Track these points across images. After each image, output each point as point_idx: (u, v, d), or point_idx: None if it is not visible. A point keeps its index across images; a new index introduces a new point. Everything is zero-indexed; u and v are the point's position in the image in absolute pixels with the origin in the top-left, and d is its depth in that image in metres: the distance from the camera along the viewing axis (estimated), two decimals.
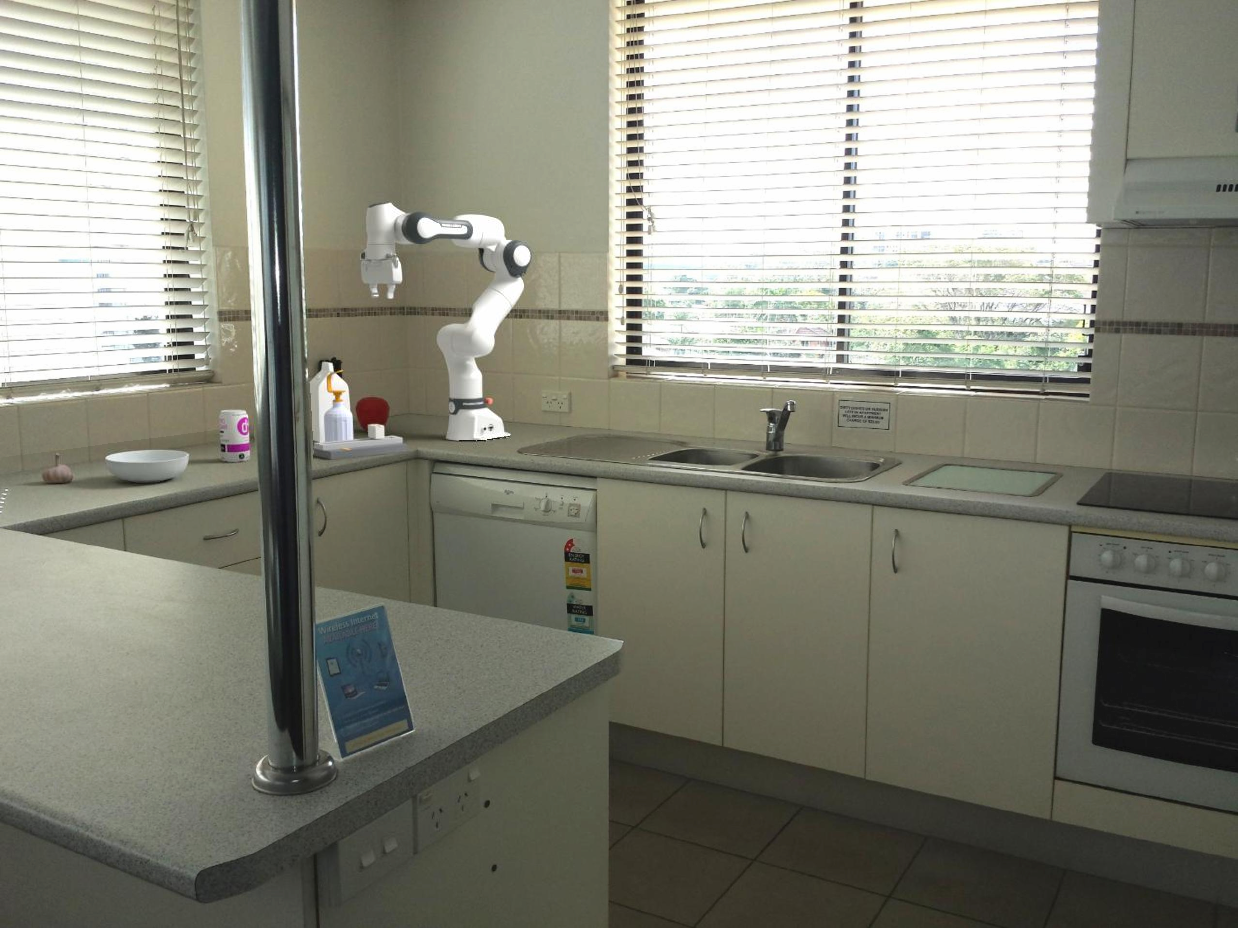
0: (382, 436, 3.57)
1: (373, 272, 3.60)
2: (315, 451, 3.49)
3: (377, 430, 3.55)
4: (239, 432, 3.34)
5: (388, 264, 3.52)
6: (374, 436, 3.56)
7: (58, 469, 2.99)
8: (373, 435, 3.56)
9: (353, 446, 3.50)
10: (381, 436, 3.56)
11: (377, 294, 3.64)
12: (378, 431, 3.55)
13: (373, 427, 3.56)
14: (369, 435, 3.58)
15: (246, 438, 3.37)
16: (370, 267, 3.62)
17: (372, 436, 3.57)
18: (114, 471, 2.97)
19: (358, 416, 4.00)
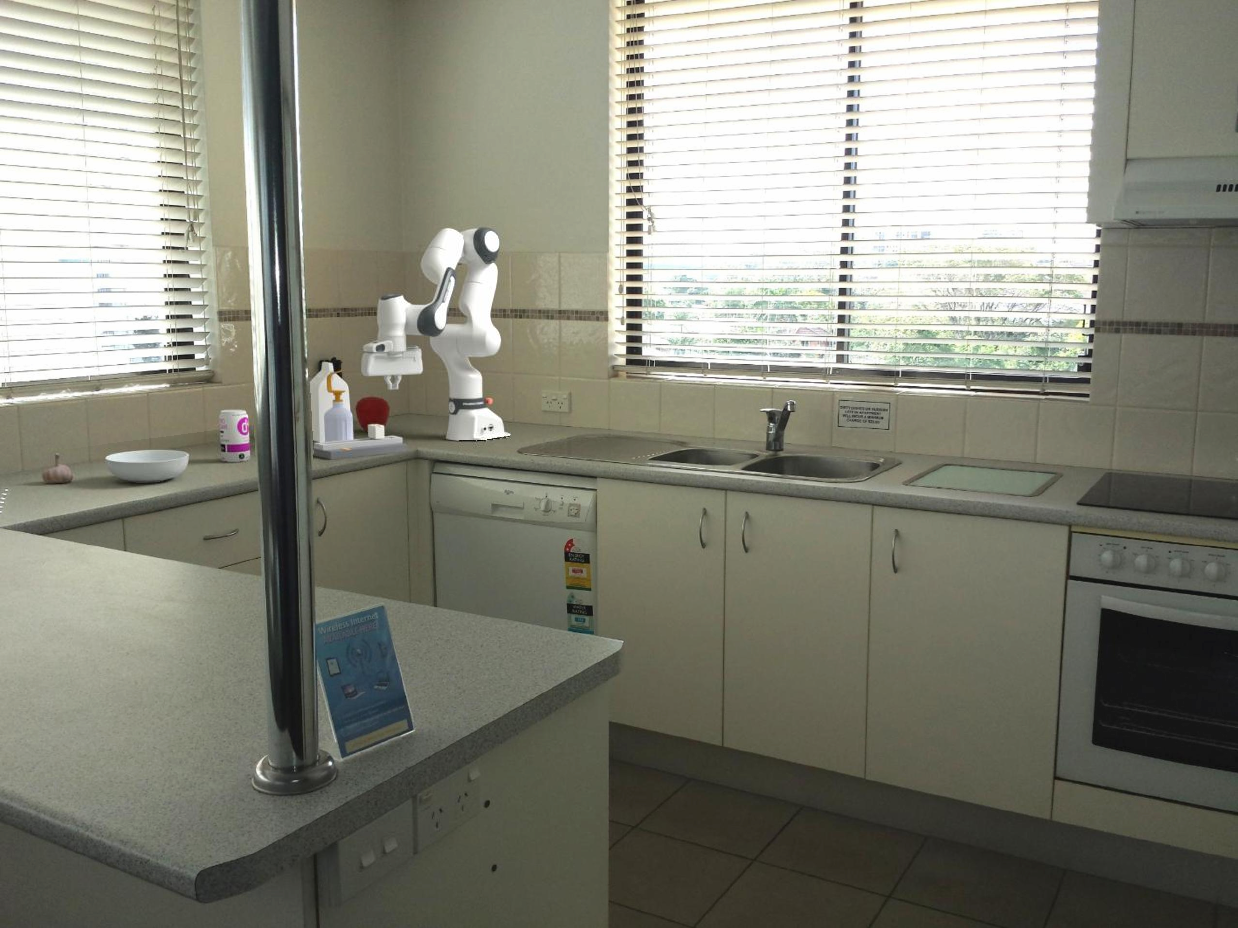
0: (382, 436, 3.57)
1: (390, 364, 3.56)
2: (315, 451, 3.49)
3: (377, 430, 3.55)
4: (239, 432, 3.34)
5: (416, 356, 3.62)
6: (374, 436, 3.56)
7: (58, 469, 2.99)
8: (373, 435, 3.56)
9: (353, 446, 3.50)
10: (381, 436, 3.56)
11: None
12: (378, 431, 3.55)
13: (373, 427, 3.56)
14: (369, 435, 3.58)
15: (246, 438, 3.37)
16: (381, 359, 3.54)
17: (372, 436, 3.57)
18: (114, 471, 2.97)
19: (358, 416, 4.00)
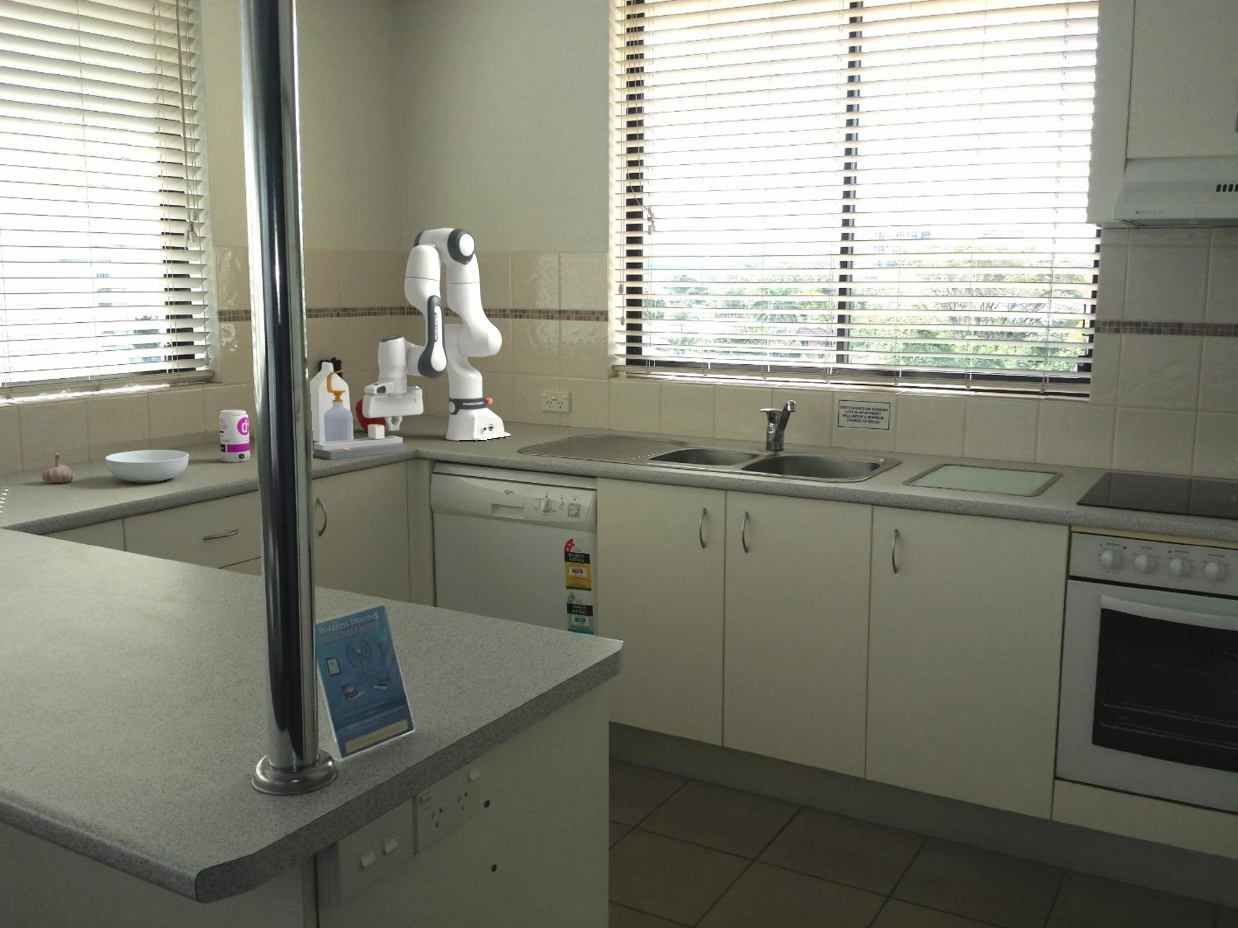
0: (382, 436, 3.57)
1: (390, 405, 3.58)
2: (315, 451, 3.49)
3: (377, 430, 3.55)
4: (239, 432, 3.34)
5: (417, 396, 3.64)
6: (374, 436, 3.56)
7: (58, 469, 2.99)
8: (373, 435, 3.56)
9: (353, 446, 3.50)
10: (381, 436, 3.56)
11: None
12: (378, 431, 3.55)
13: (373, 427, 3.56)
14: (369, 435, 3.58)
15: (246, 438, 3.37)
16: (382, 401, 3.56)
17: (372, 436, 3.57)
18: (114, 471, 2.97)
19: (358, 416, 4.00)
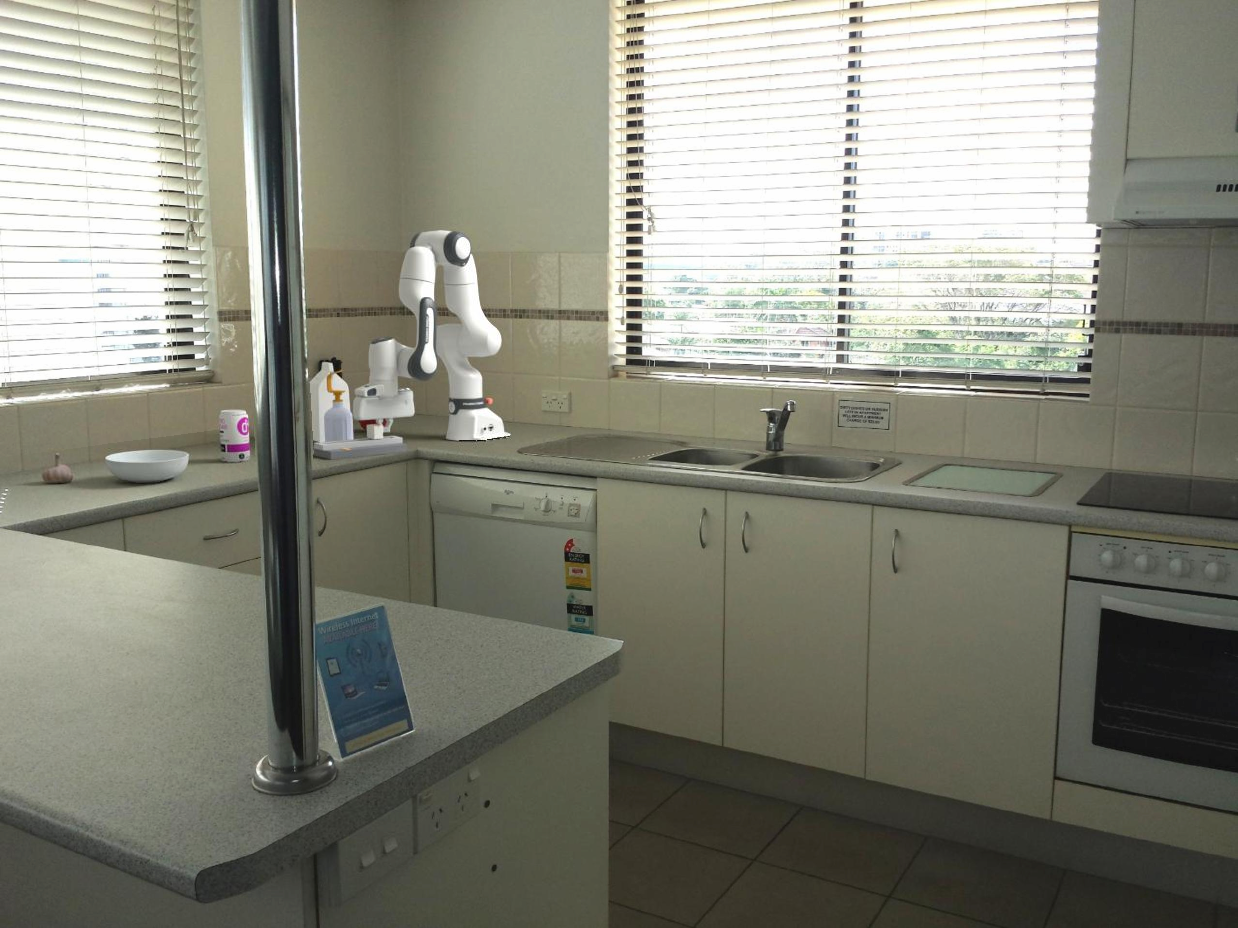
0: (381, 436, 3.56)
1: (381, 407, 3.56)
2: (315, 451, 3.49)
3: (376, 431, 3.55)
4: (239, 432, 3.34)
5: (408, 398, 3.62)
6: (373, 436, 3.55)
7: (58, 469, 2.99)
8: (371, 435, 3.56)
9: (353, 446, 3.50)
10: (380, 436, 3.56)
11: None
12: (376, 431, 3.55)
13: (372, 427, 3.55)
14: (368, 435, 3.58)
15: (246, 438, 3.37)
16: (373, 403, 3.54)
17: (371, 436, 3.57)
18: (114, 471, 2.97)
19: None
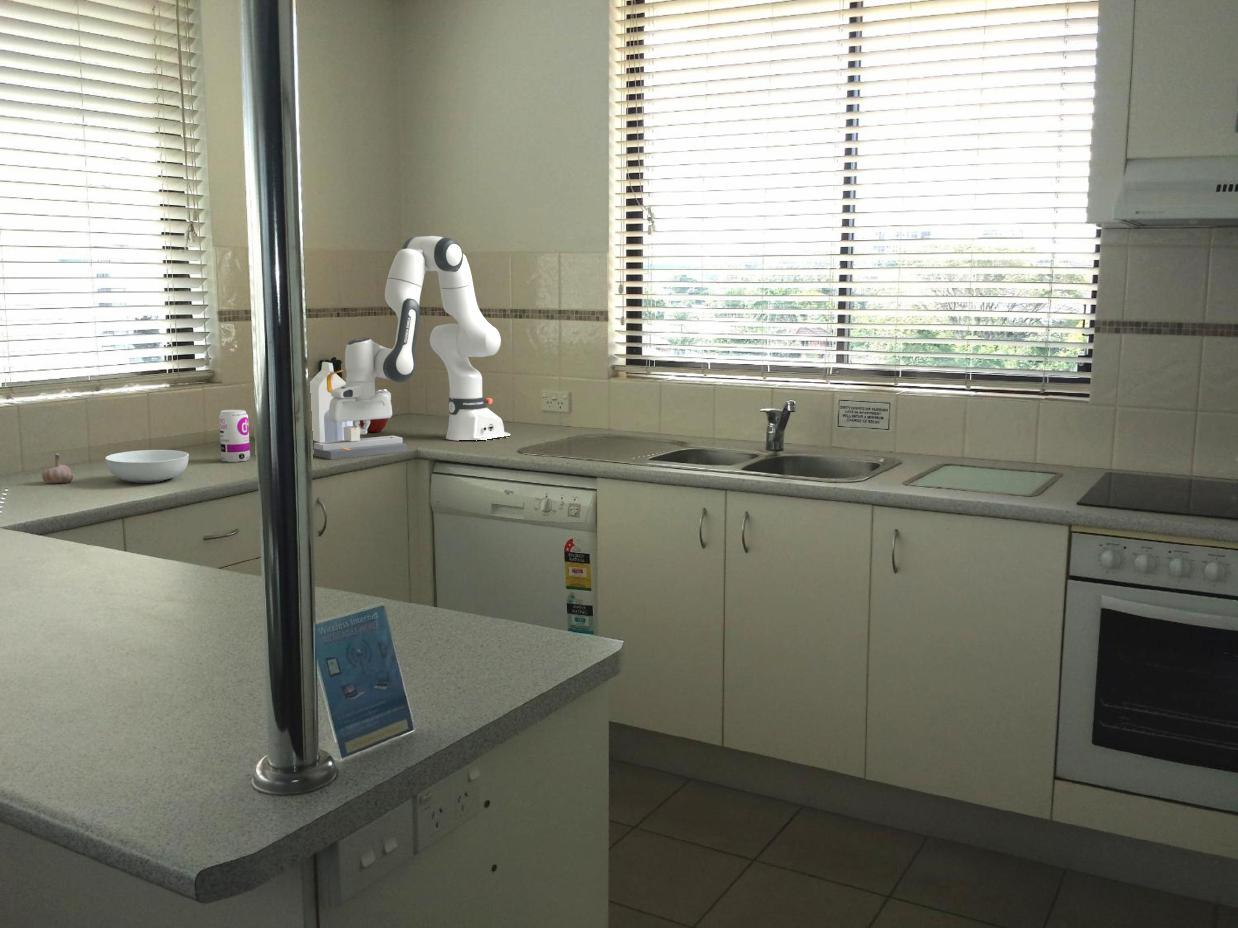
0: (358, 438, 3.51)
1: (358, 409, 3.51)
2: (315, 451, 3.49)
3: (353, 433, 3.50)
4: (239, 432, 3.34)
5: (386, 400, 3.56)
6: (349, 438, 3.50)
7: (58, 469, 2.99)
8: (348, 437, 3.51)
9: (353, 446, 3.50)
10: (356, 438, 3.51)
11: None
12: (353, 433, 3.50)
13: (348, 429, 3.50)
14: (344, 437, 3.53)
15: (246, 438, 3.37)
16: (349, 405, 3.49)
17: (347, 438, 3.51)
18: (114, 471, 2.97)
19: None
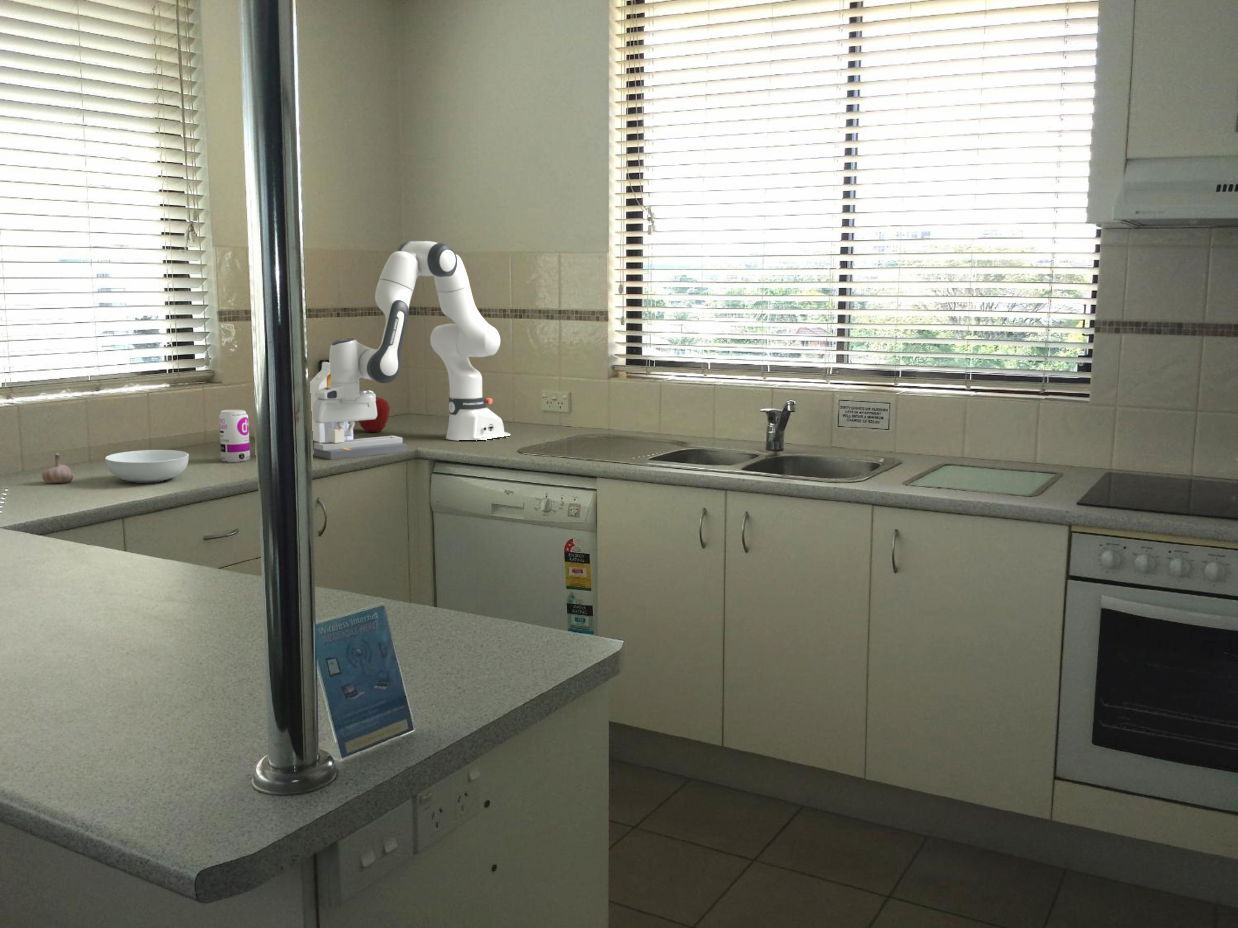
0: (342, 440, 3.48)
1: (342, 410, 3.47)
2: (315, 451, 3.49)
3: (337, 434, 3.47)
4: (239, 432, 3.34)
5: (370, 401, 3.53)
6: (333, 440, 3.47)
7: (58, 469, 2.99)
8: (332, 438, 3.48)
9: (353, 446, 3.50)
10: (341, 440, 3.48)
11: None
12: (337, 435, 3.47)
13: (332, 431, 3.47)
14: (329, 439, 3.50)
15: (246, 438, 3.37)
16: (333, 406, 3.46)
17: (332, 440, 3.48)
18: (114, 471, 2.97)
19: None
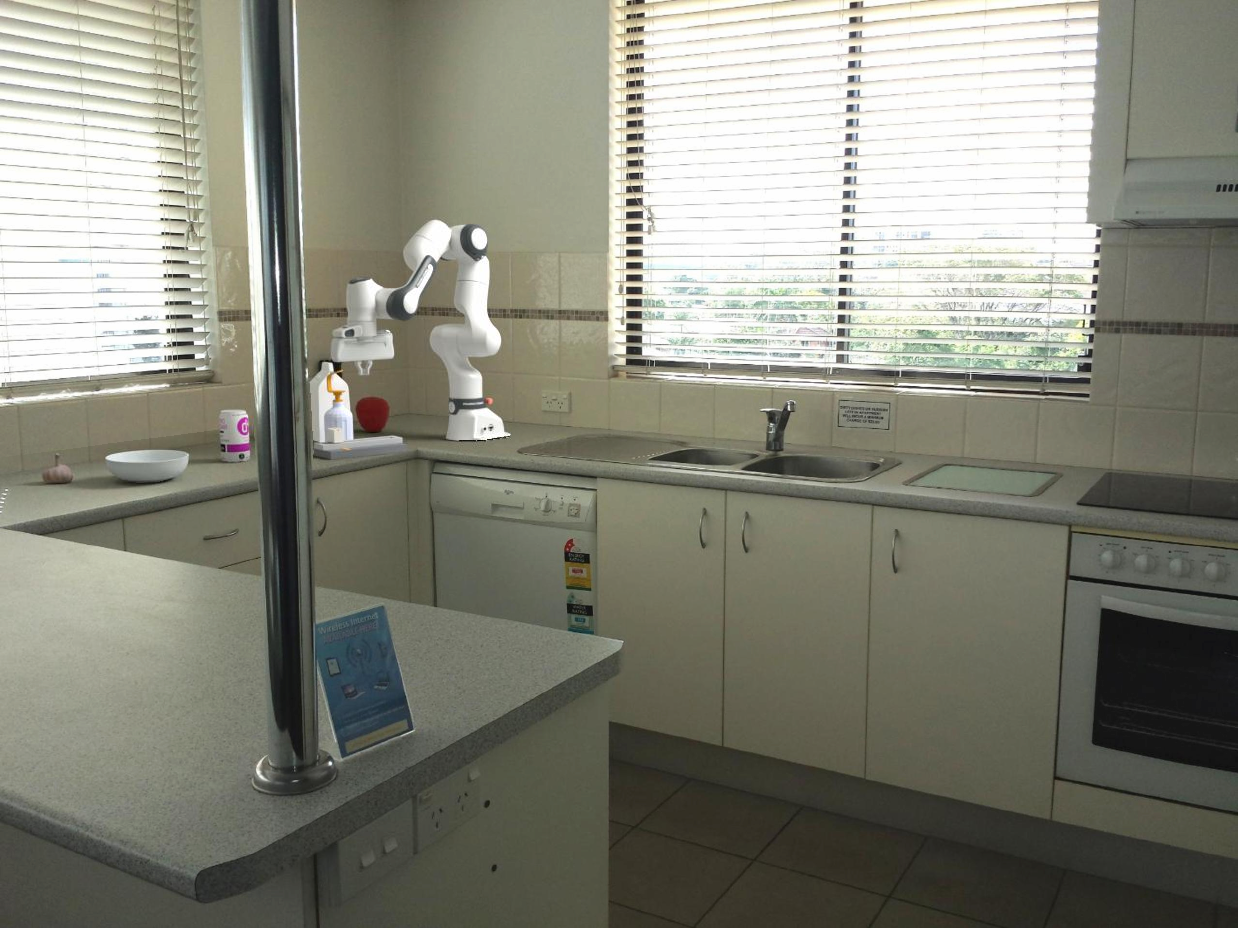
0: (341, 440, 3.48)
1: (360, 349, 3.49)
2: (315, 451, 3.49)
3: (336, 434, 3.46)
4: (239, 432, 3.34)
5: (387, 340, 3.55)
6: (333, 440, 3.47)
7: (58, 469, 2.99)
8: (331, 438, 3.47)
9: (353, 446, 3.50)
10: (340, 440, 3.47)
11: None
12: (336, 435, 3.47)
13: (332, 431, 3.47)
14: (328, 439, 3.49)
15: (246, 438, 3.37)
16: (351, 345, 3.47)
17: (331, 440, 3.48)
18: (114, 471, 2.97)
19: (358, 416, 4.00)
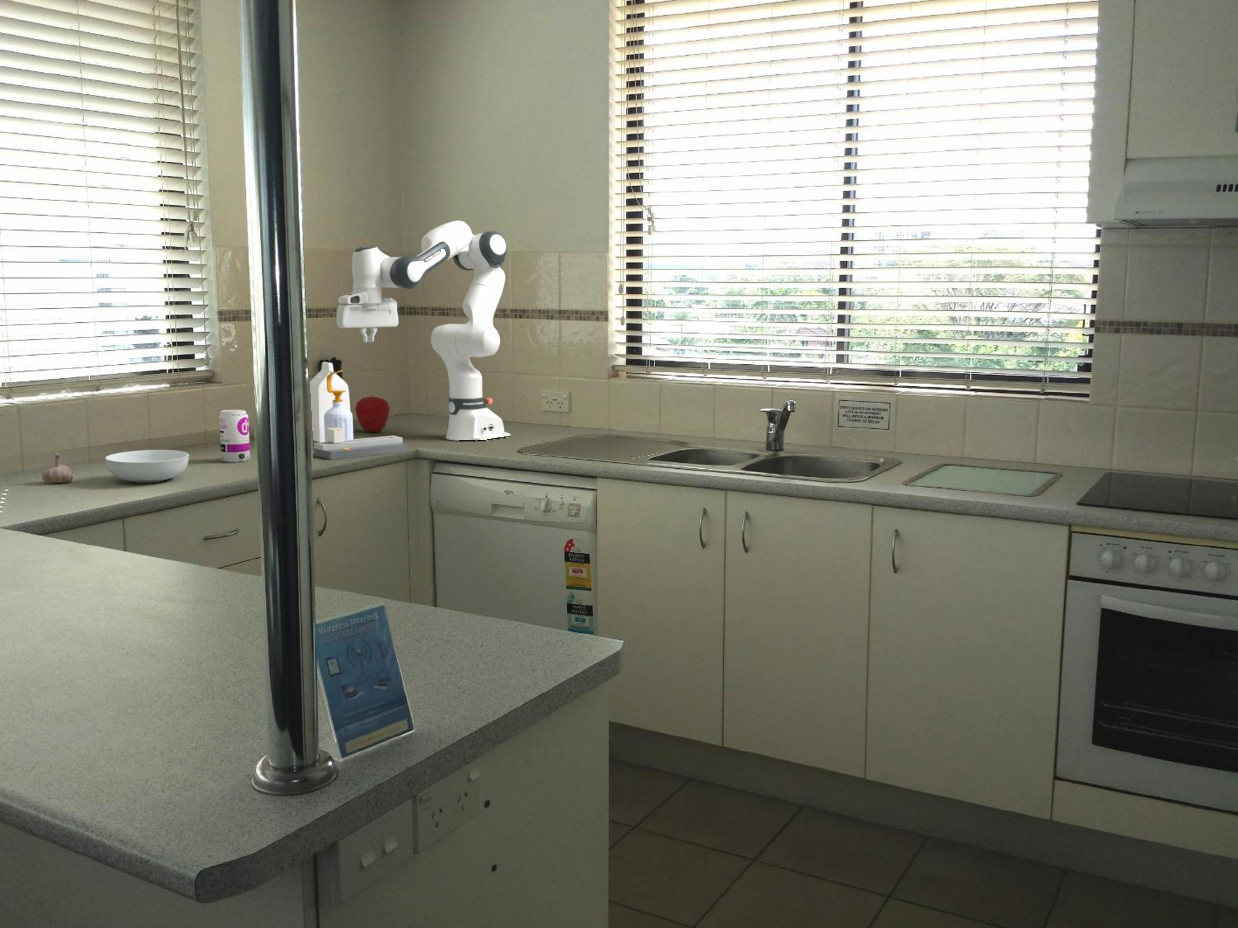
0: (341, 440, 3.48)
1: (365, 316, 3.56)
2: (315, 451, 3.49)
3: (336, 434, 3.46)
4: (239, 432, 3.34)
5: (392, 308, 3.62)
6: (333, 440, 3.47)
7: (58, 469, 2.99)
8: (331, 438, 3.47)
9: (353, 446, 3.50)
10: (340, 440, 3.47)
11: None
12: (336, 435, 3.47)
13: (332, 431, 3.47)
14: (328, 439, 3.49)
15: (246, 438, 3.37)
16: (356, 311, 3.54)
17: (331, 440, 3.48)
18: (114, 471, 2.97)
19: (358, 416, 4.00)
